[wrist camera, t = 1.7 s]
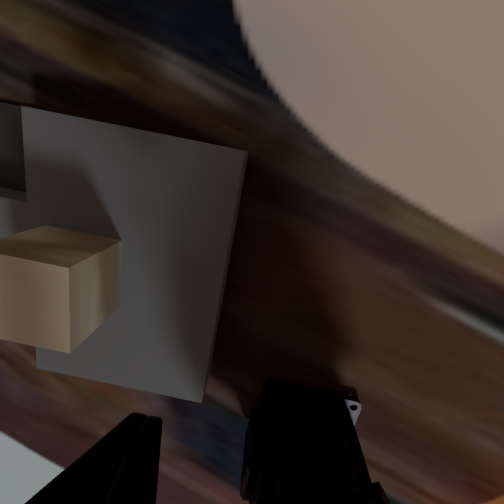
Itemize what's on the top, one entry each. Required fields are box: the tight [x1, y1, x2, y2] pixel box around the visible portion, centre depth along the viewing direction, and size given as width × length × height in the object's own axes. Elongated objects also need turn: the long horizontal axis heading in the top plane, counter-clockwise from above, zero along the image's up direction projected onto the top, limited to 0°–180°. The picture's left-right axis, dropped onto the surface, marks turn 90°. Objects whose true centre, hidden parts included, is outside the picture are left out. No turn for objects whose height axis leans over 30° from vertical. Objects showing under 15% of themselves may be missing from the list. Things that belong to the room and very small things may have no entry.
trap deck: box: [0, 102, 249, 403], centre depth 16 cm, size 20×15×2 cm
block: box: [0, 225, 122, 354], centre depth 13 cm, size 4×4×4 cm
